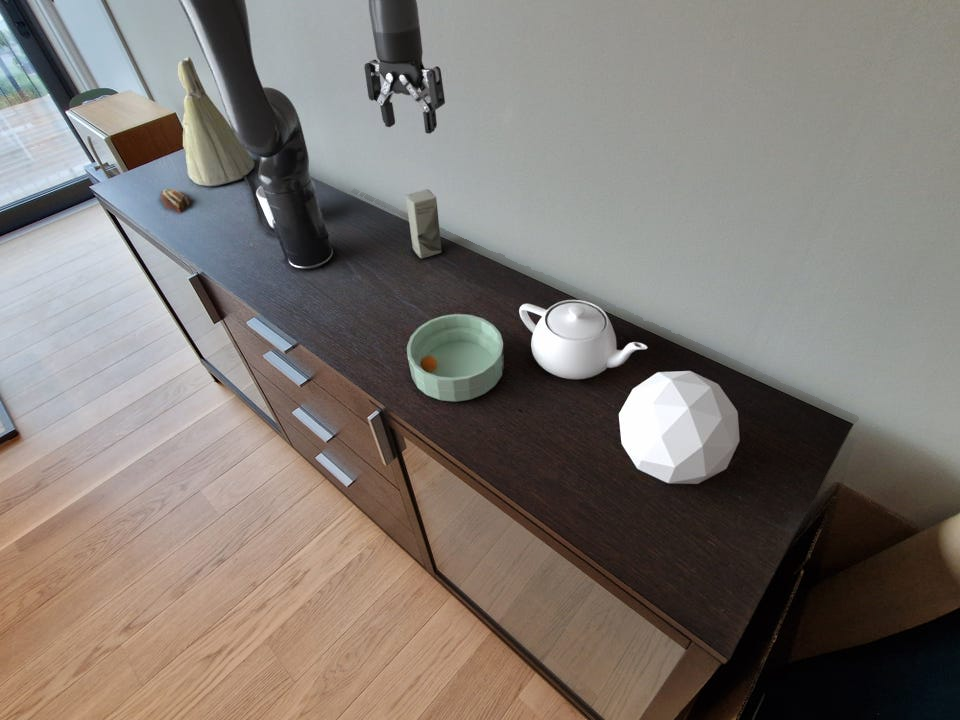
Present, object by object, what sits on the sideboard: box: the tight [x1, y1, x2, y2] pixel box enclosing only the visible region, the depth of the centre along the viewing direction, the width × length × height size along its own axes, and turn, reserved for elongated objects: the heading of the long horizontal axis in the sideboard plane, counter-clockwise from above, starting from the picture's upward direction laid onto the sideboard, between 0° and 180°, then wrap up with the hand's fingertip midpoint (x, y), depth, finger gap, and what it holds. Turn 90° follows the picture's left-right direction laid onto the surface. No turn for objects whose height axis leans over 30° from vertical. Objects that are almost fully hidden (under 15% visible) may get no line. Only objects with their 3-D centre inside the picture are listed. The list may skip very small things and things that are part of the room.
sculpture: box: [177, 55, 255, 187], centre depth 136 cm, size 17×18×30 cm
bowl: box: [406, 313, 505, 403], centre depth 86 cm, size 15×15×6 cm
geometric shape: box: [618, 370, 740, 485], centre depth 68 cm, size 14×15×15 cm
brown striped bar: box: [160, 188, 191, 213], centre depth 135 cm, size 14×6×2 cm, turn 49°
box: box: [405, 188, 442, 259], centre depth 108 cm, size 5×4×13 cm
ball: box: [421, 356, 437, 372], centre depth 86 cm, size 3×3×3 cm
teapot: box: [518, 299, 649, 380], centre depth 84 cm, size 22×14×11 cm, turn 54°
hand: (410, 128), depth 95 cm, fingers open, 8 cm apart
